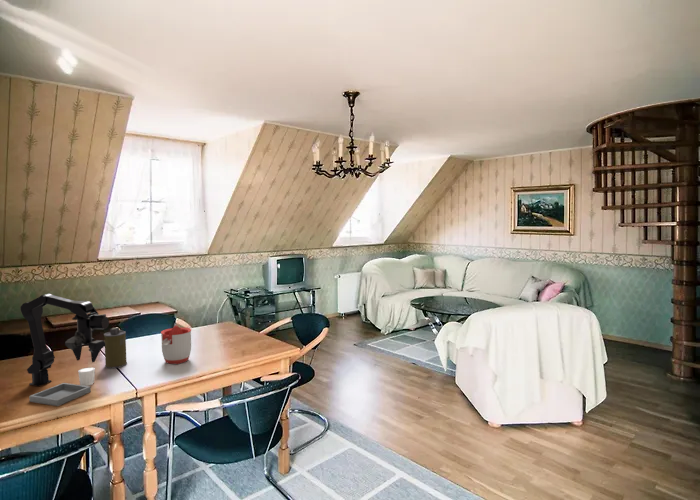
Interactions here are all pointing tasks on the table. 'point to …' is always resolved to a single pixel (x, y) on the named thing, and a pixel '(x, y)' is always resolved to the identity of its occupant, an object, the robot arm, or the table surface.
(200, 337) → the table surface
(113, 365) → the canister
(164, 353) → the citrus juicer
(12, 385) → the table surface
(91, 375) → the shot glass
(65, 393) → the tray
